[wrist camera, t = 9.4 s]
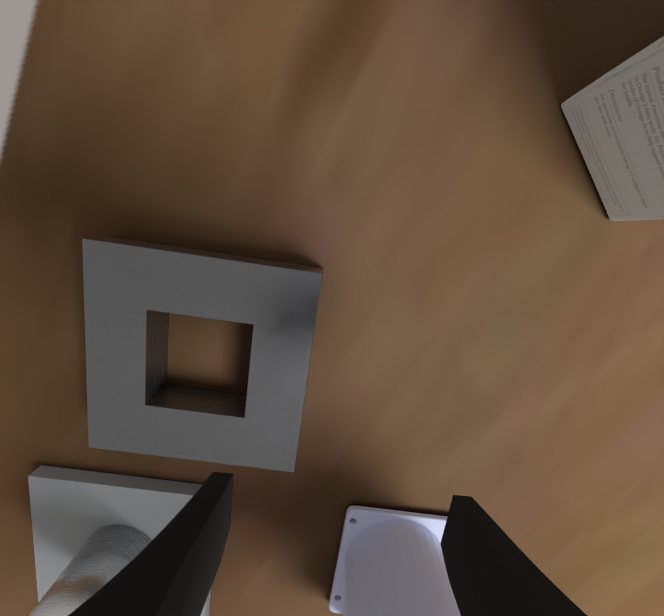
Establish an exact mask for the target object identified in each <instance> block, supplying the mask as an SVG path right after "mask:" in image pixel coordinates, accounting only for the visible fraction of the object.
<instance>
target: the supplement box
mask: <svg viewBox="0 0 664 616" xmlns="http://www.w3.org/2000/svg"><path fill="white" fill-rule="evenodd" d="M561 108H562V110H563V112H564V114H565V117H566V119H567V121H568V123H569V126H570V128H571V130H572V133H573V135H574V137H575V140H576V142H577V144H578V146H579V149H580V151H581V153H582V156H583V158H584V160H585V163H586V165H587V167H588V170H589V172H590V174H591V176H592V179H593V181H594V183H595V186H596V188H597V190H598V193H599V195H600V197H601V200H602V202H603V204H604V207H605V209H606V211H607V214H608V216H609V218H610V220H611V221H619V220H652V219H664V36H663V37H661V38H660V39H658V40H657V41H655V42H654V43H652V44H650V45H649V46H647V47H646V48H644V49H643V50H641V51H640V52H638V53H637V54H635V55H634V56H632V57H630V58H629V59H627V60H626V61H624V62H623V63H621V64H620V65H618V66H617V67H615V68H614V69H612V70H611V71H609V72H608V73H606V74H604V75H603V76H602V77H600V78H599V79H597V80H596V81H594V82H593V83H591V84H590V85H588V86H586V87H585V88H583V89H582V90H580V91H579V92H578V93H576V94H575V95H573V96H572V97H570V98H569V99H567V100H566V101H565V102H563V103H562V104H561Z"/></svg>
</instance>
